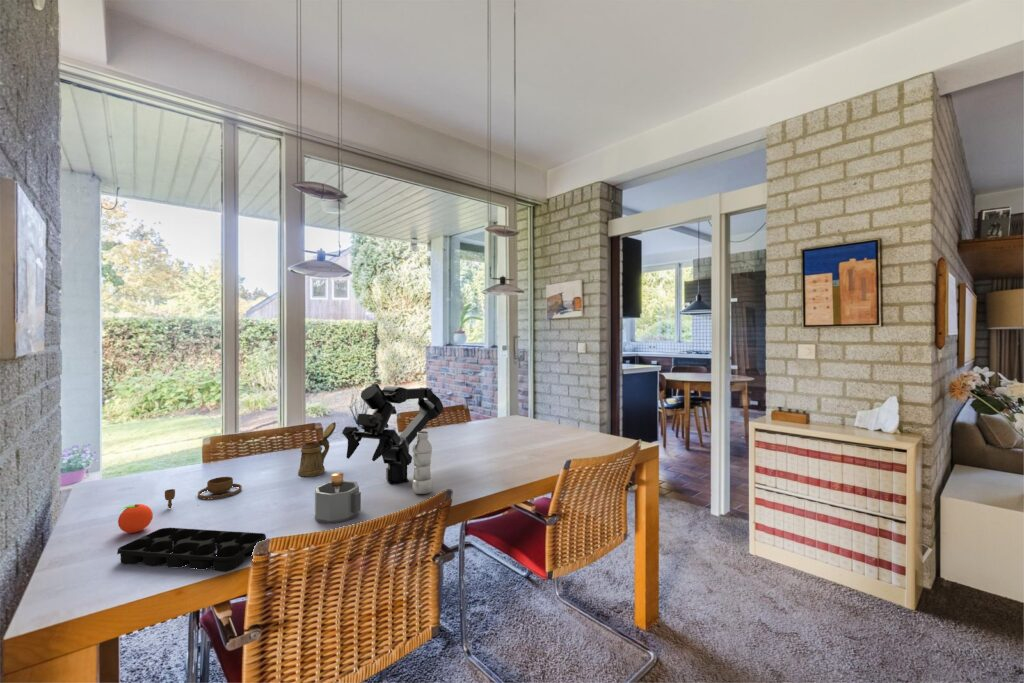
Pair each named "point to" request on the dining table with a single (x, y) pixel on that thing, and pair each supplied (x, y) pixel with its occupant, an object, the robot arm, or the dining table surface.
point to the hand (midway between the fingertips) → (360, 459)
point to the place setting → (210, 489)
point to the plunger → (337, 481)
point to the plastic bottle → (422, 464)
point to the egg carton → (191, 548)
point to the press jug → (337, 502)
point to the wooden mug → (315, 454)
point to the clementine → (135, 518)
